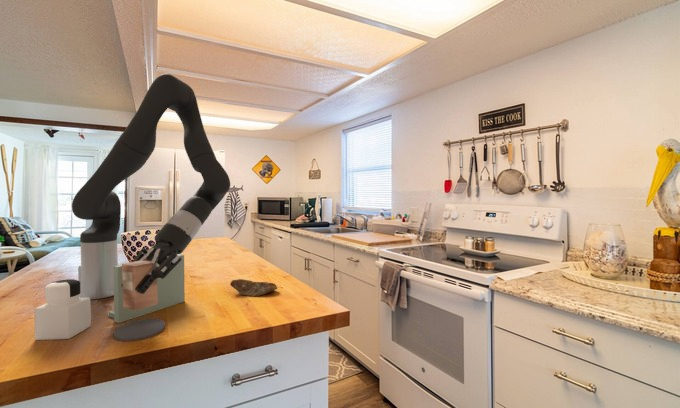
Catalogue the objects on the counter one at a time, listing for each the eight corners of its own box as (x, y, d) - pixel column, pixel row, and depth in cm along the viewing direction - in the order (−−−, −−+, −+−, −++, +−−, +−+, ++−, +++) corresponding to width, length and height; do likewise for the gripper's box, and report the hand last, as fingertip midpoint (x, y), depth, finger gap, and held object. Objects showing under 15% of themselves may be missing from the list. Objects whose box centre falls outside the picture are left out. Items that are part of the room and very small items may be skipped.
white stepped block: (60, 327, 76) (58, 277, 76) (91, 326, 77) (90, 276, 76) (34, 340, 69) (32, 286, 69) (69, 339, 70) (67, 285, 69)
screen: (118, 323, 79) (117, 267, 78) (104, 317, 82) (102, 263, 81) (184, 301, 94) (184, 254, 94) (170, 297, 98) (169, 252, 97)
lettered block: (122, 307, 73) (120, 264, 72) (145, 300, 77) (144, 259, 77) (134, 311, 70) (133, 266, 70) (157, 303, 75) (156, 261, 75)
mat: (102, 339, 70) (102, 334, 70) (137, 321, 80) (137, 317, 80) (143, 342, 68) (143, 338, 68) (174, 323, 78) (174, 319, 78)
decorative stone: (238, 273, 109) (281, 279, 108) (236, 285, 109) (279, 291, 108) (227, 280, 99) (274, 286, 99) (225, 294, 99) (272, 300, 99)
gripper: (152, 221, 83) (101, 277, 73) (187, 223, 76) (137, 285, 66) (171, 238, 88) (126, 293, 78) (206, 242, 81) (162, 303, 71)
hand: (131, 289), depth 72 cm, fingers closed on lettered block, 5 cm apart
